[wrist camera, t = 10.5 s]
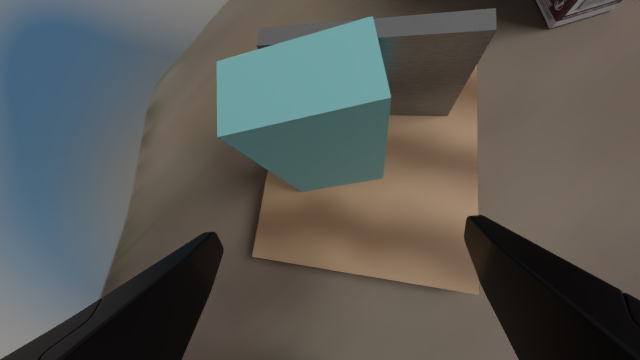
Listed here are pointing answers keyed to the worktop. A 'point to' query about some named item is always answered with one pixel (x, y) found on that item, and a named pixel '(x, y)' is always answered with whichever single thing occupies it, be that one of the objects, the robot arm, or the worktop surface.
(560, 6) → the supplement box
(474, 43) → the grey metal bookend
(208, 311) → the worktop surface
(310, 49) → the teal rectangular block
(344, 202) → the wooden board
